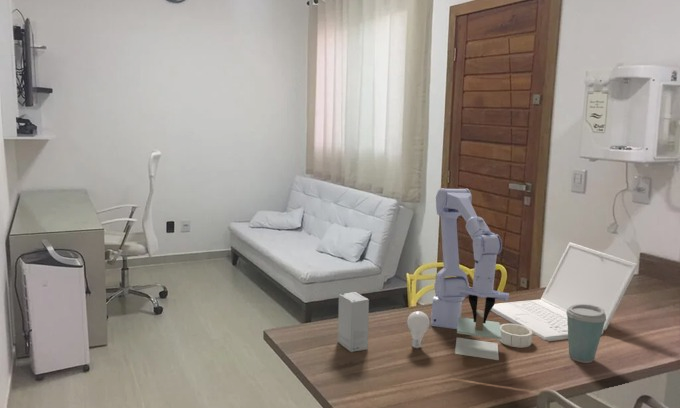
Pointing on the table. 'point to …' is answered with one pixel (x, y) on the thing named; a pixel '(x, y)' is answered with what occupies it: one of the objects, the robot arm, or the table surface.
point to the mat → (477, 348)
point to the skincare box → (353, 321)
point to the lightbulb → (417, 327)
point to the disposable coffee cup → (584, 331)
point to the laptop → (572, 292)
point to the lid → (479, 326)
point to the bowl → (515, 335)
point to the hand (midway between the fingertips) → (479, 321)
